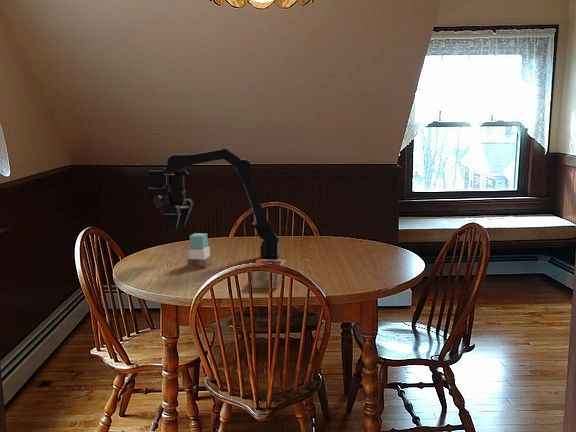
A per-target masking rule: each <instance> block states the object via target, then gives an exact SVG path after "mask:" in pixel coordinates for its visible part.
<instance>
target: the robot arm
mask: <svg viewBox="0 0 576 432" xmlns="http://www.w3.org/2000/svg"><path fill="white" fill-rule="evenodd" d="M219 160H224V161H226V162H227V163H228V164H230V165H232V166H233V168H235V170H236V172H237V173H238V176H239V178H240V179H241V181H242V183H243V185H244V188H245V191H246V195H247V196H248V200H249V202H250V203H249V204H250V206H251V209H252V212H253V215H254V219H255V221H252V222H251V223H252V225H253V227H254V233H255V234H256V236H259V238H260V240H262V241H261V244H260V246H259V247H260V249H259V250H260V251H259V252H260V259H265V260H278V259H279V257H280V256H281V254H280V248H279V247H280V242H279V240H280V238H279V237H278V235H277V233H275V232H274V230H273V228H272V226H271V224H270V222H269V220H268V219H267V217H266V215H265V213H264V210H263V207H262V204H261V200H260V198H259V195H258V192H257V191H258V190H257V189H256V185H255V183H254V177H253V168H252V165H251V163H250V161H248V159H246V158H242V157H239V156H237V155H236V154H235V153H234V152H232V151H230V150H229V149H228V148H226V147H223V148H220V149H213V150H209V151H203V152H197V153H196V152H195V153H192V154H191V153H173V154H171V155H170V156H169V157H168V158H167V165H166V167H164V168H163V170H153V169H150V170H148V171H147V172H148V173H147V175H148V177H147V186H148V190H152V189H165V186H168V190H167V192H166V195H163V196H162V195H156V196H155V197H154V199H153V205H156V208H160V207H161V208H160V214H161V215H163V216H164V217H166V218H167V219H168V223H169V224H170V227H171V228H170V229H171V230H172V232H176V231H177V228H178V225H179V221H180V226H181V227H185V226H186V223H187V221H188V218H189V215H190V212H191V211H192V209H193V206H194V200H192V199H191V198H186V193H187V189H185V177H187V176H189V172H187V171H186V169H185V168H189V166H193V165H197V164H202V163H209V162H214V161H219ZM181 169H182V170H181ZM180 170H181V171H180ZM173 171H174V172H173ZM171 172H173V173H171ZM167 179H168V180H167Z"/></svg>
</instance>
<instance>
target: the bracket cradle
mask: <svg viewBox="0 0 576 432" xmlns="http://www.w3.org/2000/svg"><path fill="white" fill-rule="evenodd" d="M259 260H262V263H272V264H277V265H281V266H284V267H286V266H287V265H286V261H287V260H286V259H261V258H260V259H259ZM286 268H287V267H286ZM272 275H273V288H272V289H276V290H278V289H279V287H280V286H281V284H282V282H281V280H282V276H281V275H279V274H275V273H273V274H272ZM251 281H252V288H253V289H270V288H269V273H268V272H251Z"/></svg>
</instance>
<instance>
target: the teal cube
mask: <svg viewBox="0 0 576 432" xmlns="http://www.w3.org/2000/svg"><path fill="white" fill-rule="evenodd" d="M208 243H209V241H208V233H198V232H195V233H193V234H191V235H189V249H196V250H203V249H205V248H207V247H209V246H208V245H209V244H208Z"/></svg>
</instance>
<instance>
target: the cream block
mask: <svg viewBox="0 0 576 432" xmlns="http://www.w3.org/2000/svg"><path fill="white" fill-rule="evenodd" d="M210 248H211V247H210V246H208V247H207V248H205V249H203V250H196V249H190V248H189V249H188V258H189V259H201V260H205V259H206V258H207V257H209V256H210V255H211V249H210Z"/></svg>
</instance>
